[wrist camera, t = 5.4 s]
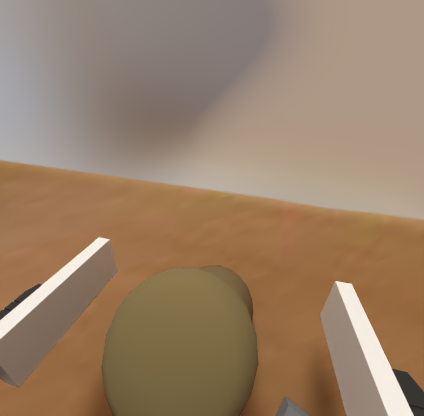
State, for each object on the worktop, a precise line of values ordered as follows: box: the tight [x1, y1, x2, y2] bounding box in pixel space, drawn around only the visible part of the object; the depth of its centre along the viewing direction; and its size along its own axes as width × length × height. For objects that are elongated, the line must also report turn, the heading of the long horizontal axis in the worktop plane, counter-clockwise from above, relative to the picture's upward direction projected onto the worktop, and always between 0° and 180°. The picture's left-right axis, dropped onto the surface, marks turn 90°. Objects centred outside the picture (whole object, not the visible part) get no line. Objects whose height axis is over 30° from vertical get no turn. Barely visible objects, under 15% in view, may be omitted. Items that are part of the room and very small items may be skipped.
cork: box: [102, 266, 258, 416], centre depth 11 cm, size 6×6×11 cm
